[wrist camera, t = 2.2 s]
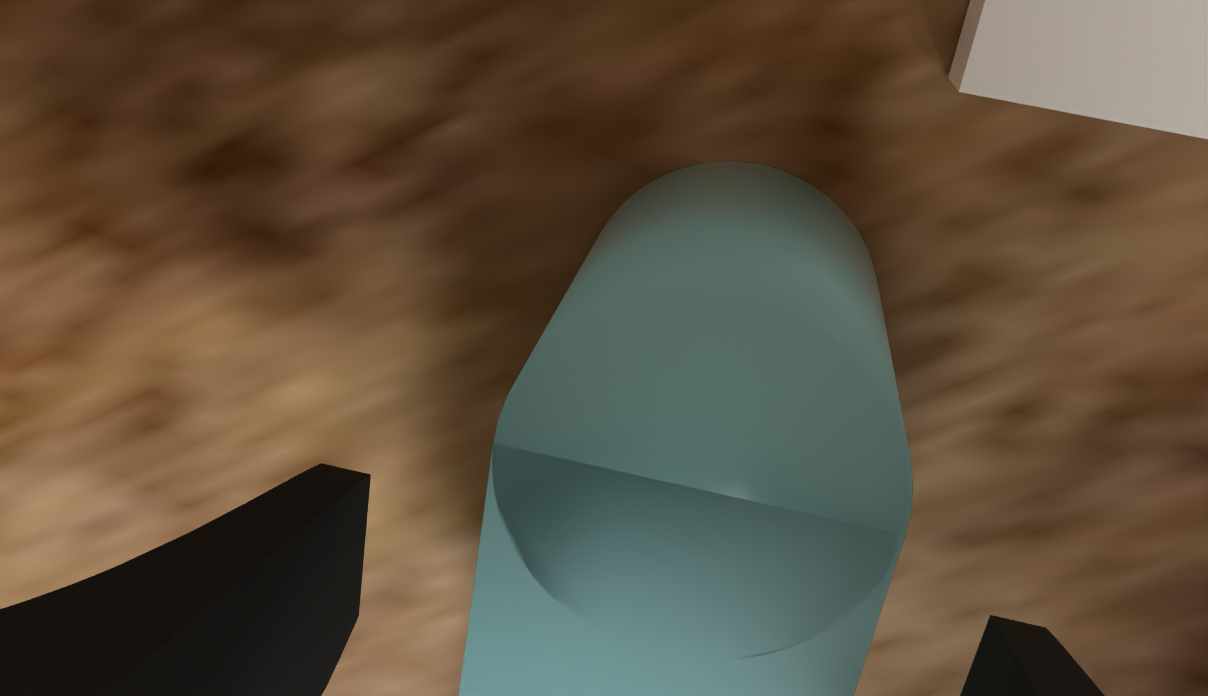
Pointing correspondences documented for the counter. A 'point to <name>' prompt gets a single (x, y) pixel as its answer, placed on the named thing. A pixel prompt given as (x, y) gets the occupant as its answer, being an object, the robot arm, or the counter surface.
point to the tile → (1091, 59)
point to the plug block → (698, 458)
